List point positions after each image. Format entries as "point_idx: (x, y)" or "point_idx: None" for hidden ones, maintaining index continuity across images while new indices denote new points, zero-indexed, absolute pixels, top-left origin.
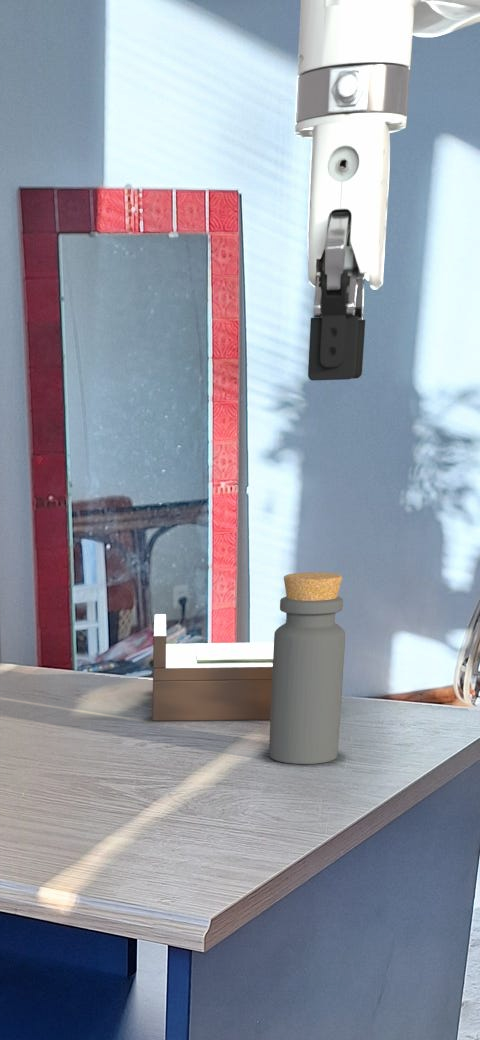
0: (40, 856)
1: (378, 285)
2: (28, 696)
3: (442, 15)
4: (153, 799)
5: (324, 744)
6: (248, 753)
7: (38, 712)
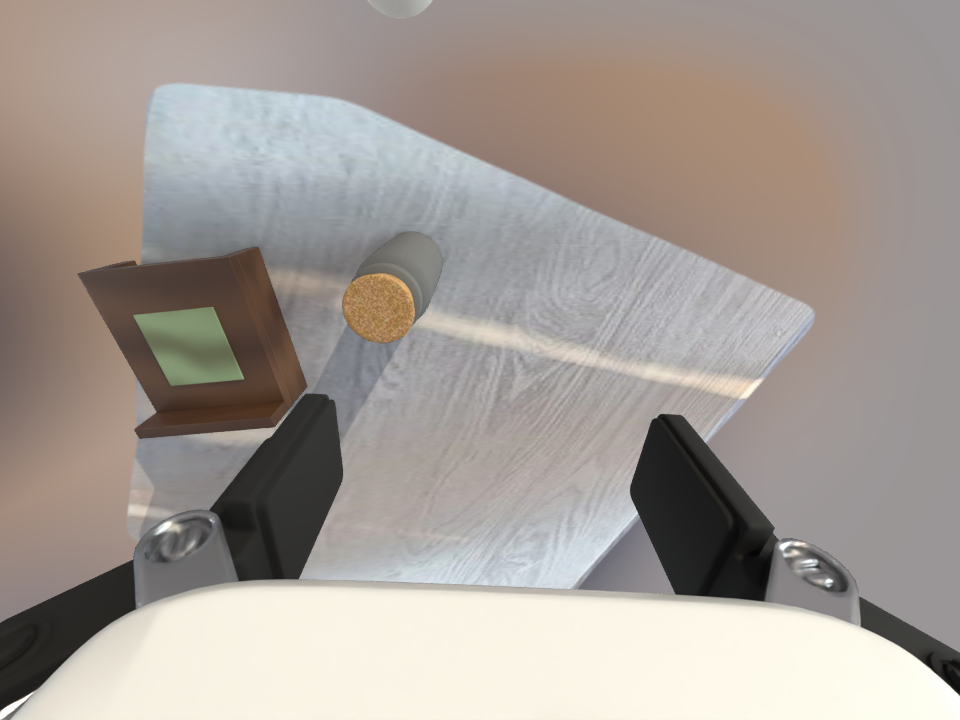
0: (680, 407)
1: (489, 588)
2: None
3: None
4: (553, 361)
5: (434, 246)
6: None
7: None
